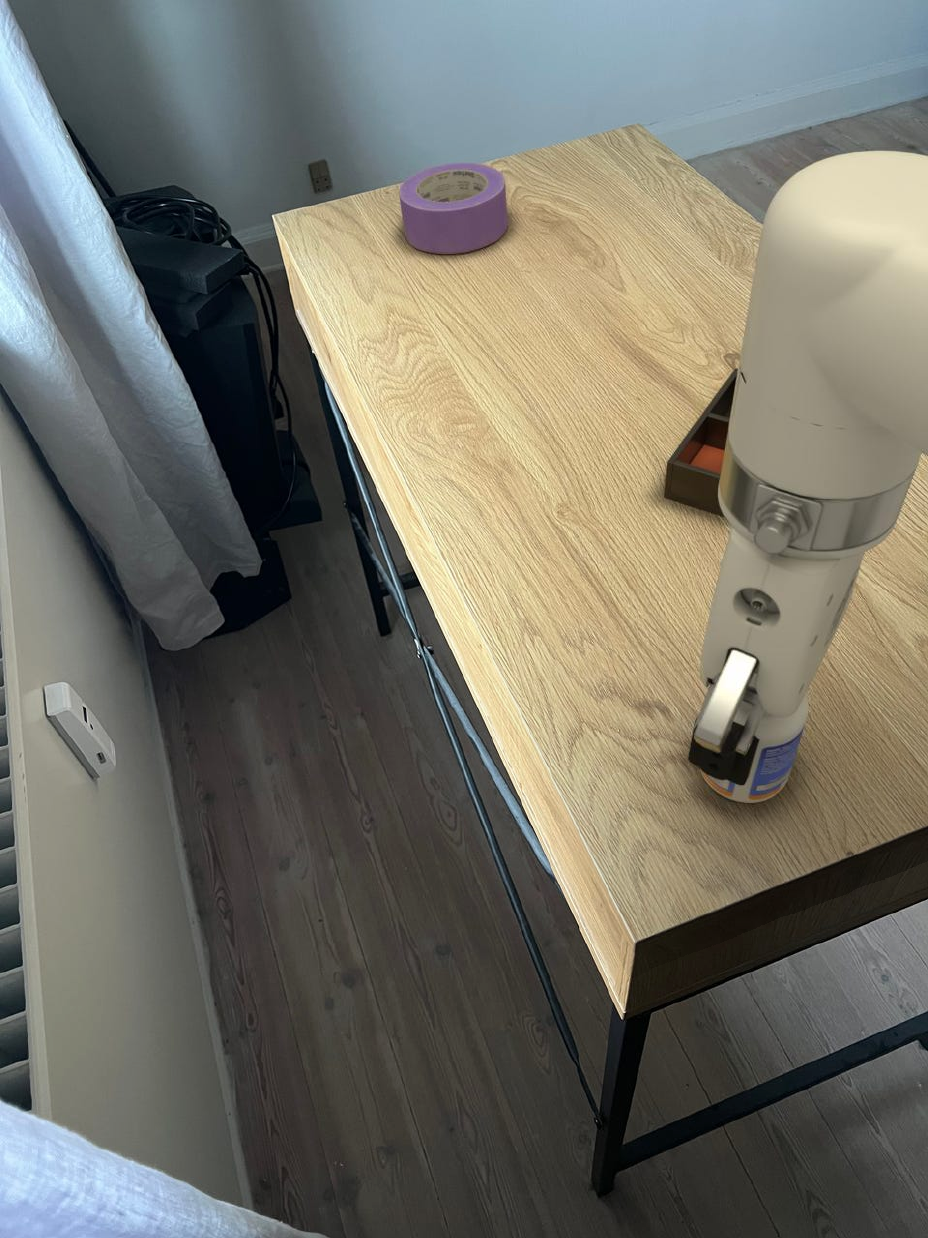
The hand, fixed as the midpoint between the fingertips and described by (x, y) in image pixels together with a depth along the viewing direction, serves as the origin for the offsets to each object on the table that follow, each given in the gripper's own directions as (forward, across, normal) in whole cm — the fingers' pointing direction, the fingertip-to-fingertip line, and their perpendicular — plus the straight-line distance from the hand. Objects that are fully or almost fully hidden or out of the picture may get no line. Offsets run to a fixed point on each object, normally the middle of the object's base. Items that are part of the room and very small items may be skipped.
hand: (751, 705), depth 52 cm
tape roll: (+7, +51, +54) cm, 74 cm away
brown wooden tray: (+6, +27, +11) cm, 30 cm away
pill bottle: (+6, 0, 0) cm, 6 cm away
